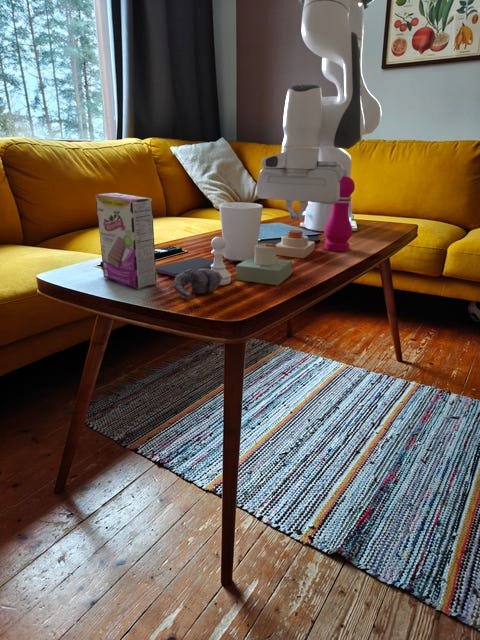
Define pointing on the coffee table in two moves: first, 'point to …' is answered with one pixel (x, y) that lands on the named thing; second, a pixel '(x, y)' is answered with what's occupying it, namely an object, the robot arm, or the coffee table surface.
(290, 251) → the button box
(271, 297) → the coffee table surface
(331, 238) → the pepper mill
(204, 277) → the grey elephant figurine
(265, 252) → the knob
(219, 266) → the chess pawn
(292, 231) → the button
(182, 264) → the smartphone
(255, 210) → the cup
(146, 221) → the candy bar box
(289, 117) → the robot arm
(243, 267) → the dial panel
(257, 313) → the coffee table surface
